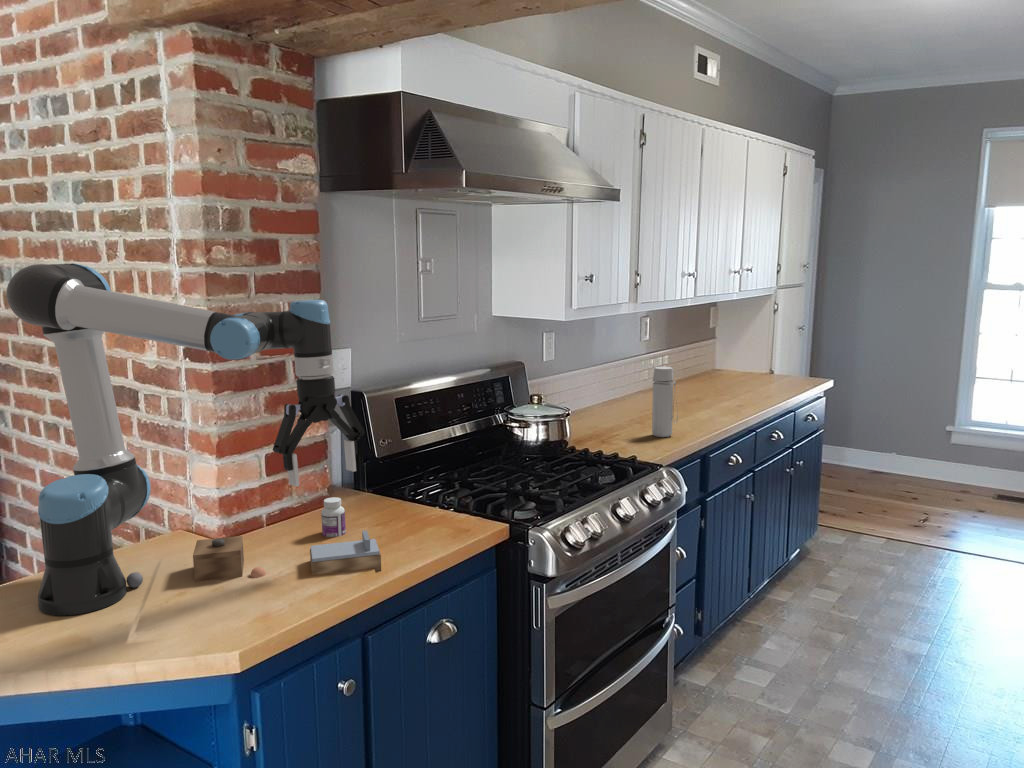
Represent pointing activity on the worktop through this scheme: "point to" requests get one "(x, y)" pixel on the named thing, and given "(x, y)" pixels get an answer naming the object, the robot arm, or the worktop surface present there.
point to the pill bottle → (333, 518)
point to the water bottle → (663, 401)
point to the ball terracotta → (258, 572)
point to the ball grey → (134, 580)
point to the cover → (218, 558)
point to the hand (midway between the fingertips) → (323, 477)
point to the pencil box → (346, 564)
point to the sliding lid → (345, 549)
